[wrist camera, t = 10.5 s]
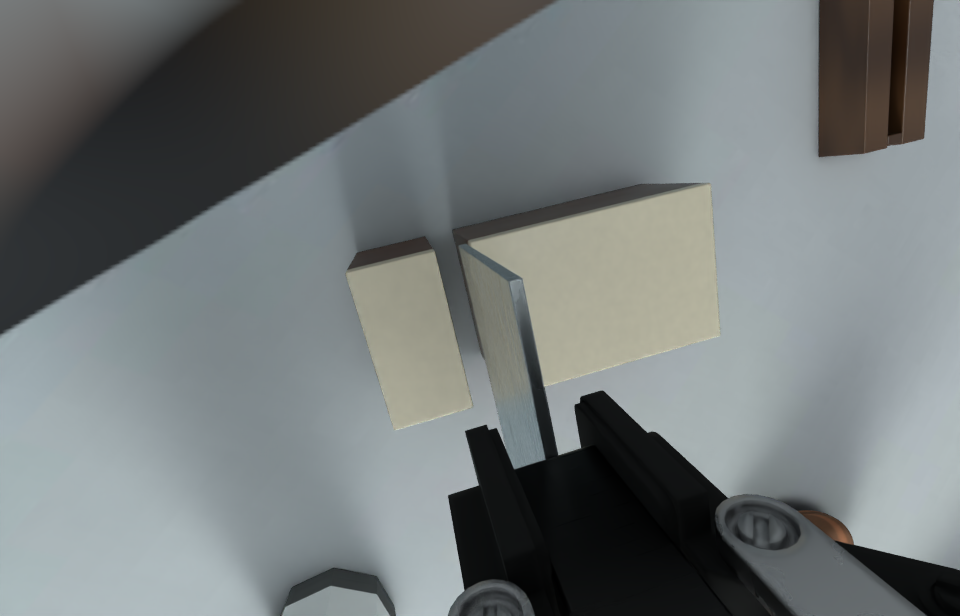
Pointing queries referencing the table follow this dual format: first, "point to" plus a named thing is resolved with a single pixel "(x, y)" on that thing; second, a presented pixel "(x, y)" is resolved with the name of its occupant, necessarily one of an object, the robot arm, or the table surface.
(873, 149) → the knife stand
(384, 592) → the wine bottle
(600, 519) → the metal dough scraper
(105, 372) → the table surface
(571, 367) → the cake
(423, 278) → the cake slice
